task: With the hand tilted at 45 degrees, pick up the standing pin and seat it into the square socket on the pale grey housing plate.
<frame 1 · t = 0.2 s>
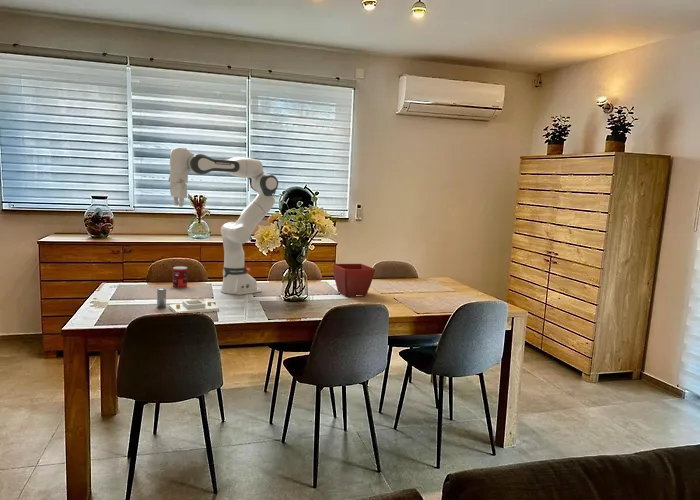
hand: (178, 206, 255), 48 cm above the table, tool pointing down, fingers open, 8 cm apart
housing: (194, 309, 237), on the table
plant pot: (352, 294, 290), on the table
pin: (161, 307, 238), on the table
canned food: (179, 286, 284), on the table
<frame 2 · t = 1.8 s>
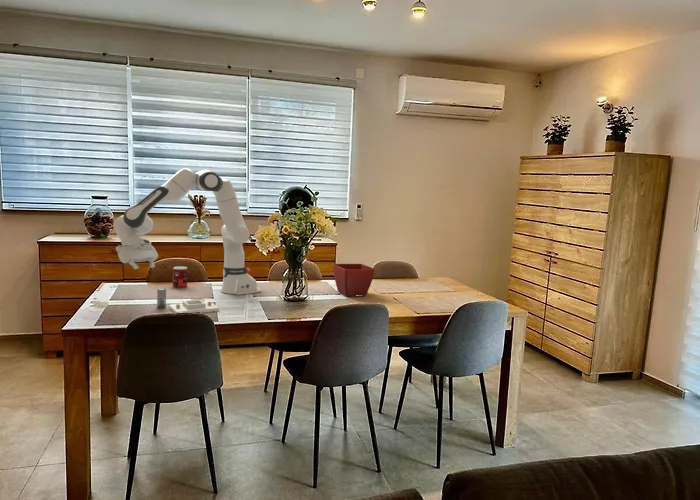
hand: (145, 267, 241), 18 cm above the table, tool tilted 45°, fingers open, 8 cm apart
nothing on the table moved.
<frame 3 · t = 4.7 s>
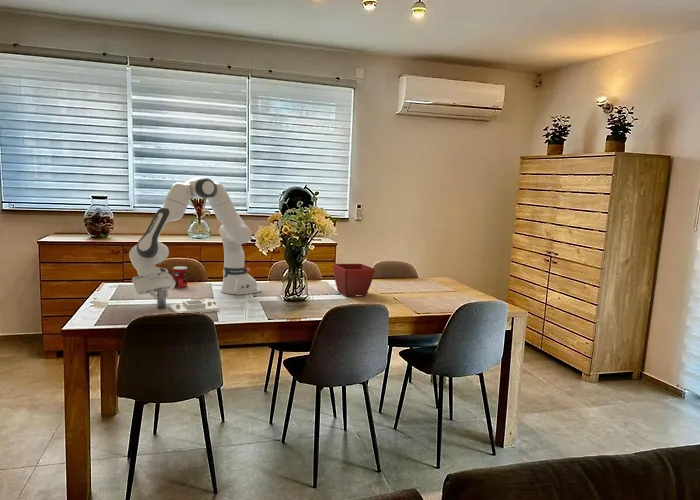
hand: (162, 297, 237), 5 cm above the table, tool tilted 45°, fingers closed on pin, 4 cm apart
pin: (161, 307, 238), on the table, touching gripper
everything else where it was.
when the fingers open (8 cm above the table, at t = 9.3 s): pin drops 1 cm, resting on housing.
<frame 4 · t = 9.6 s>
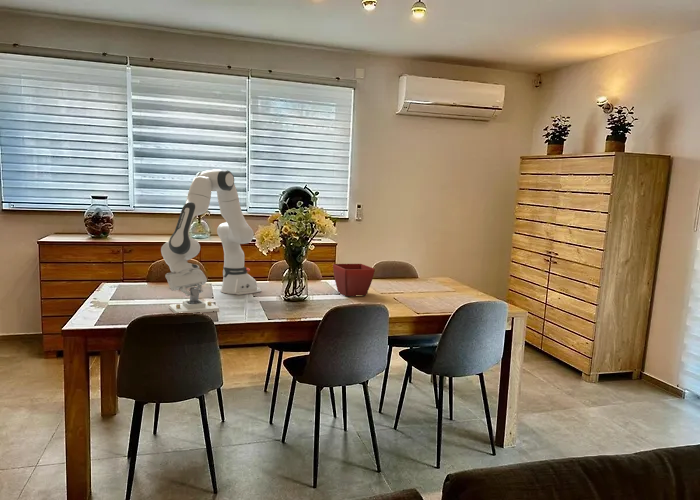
hand: (195, 293, 236), 8 cm above the table, tool tilted 45°, fingers open, 6 cm apart
pin: (194, 306, 237), point 2 cm above the table, touching housing
everything else where it was.
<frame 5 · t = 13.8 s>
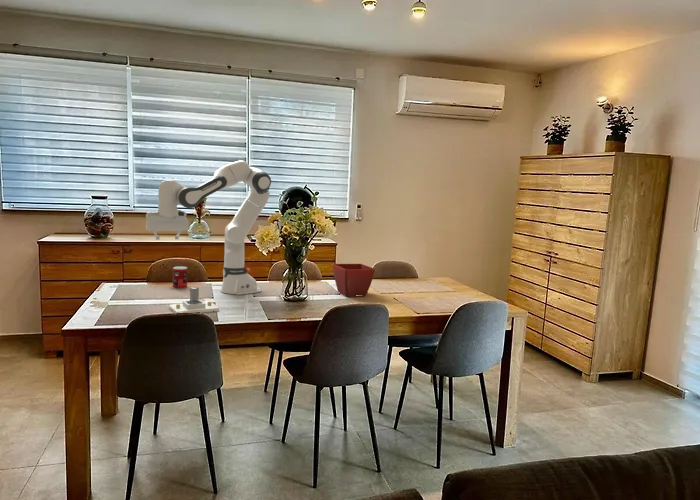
hand: (167, 239, 249), 31 cm above the table, tool pointing down, fingers open, 8 cm apart
nothing on the table moved.
at the end: pin 0.1 cm off-centre on the housing, point 1.5 cm above the housing's base; pin tilted 0°; the gripper is holding nothing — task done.
